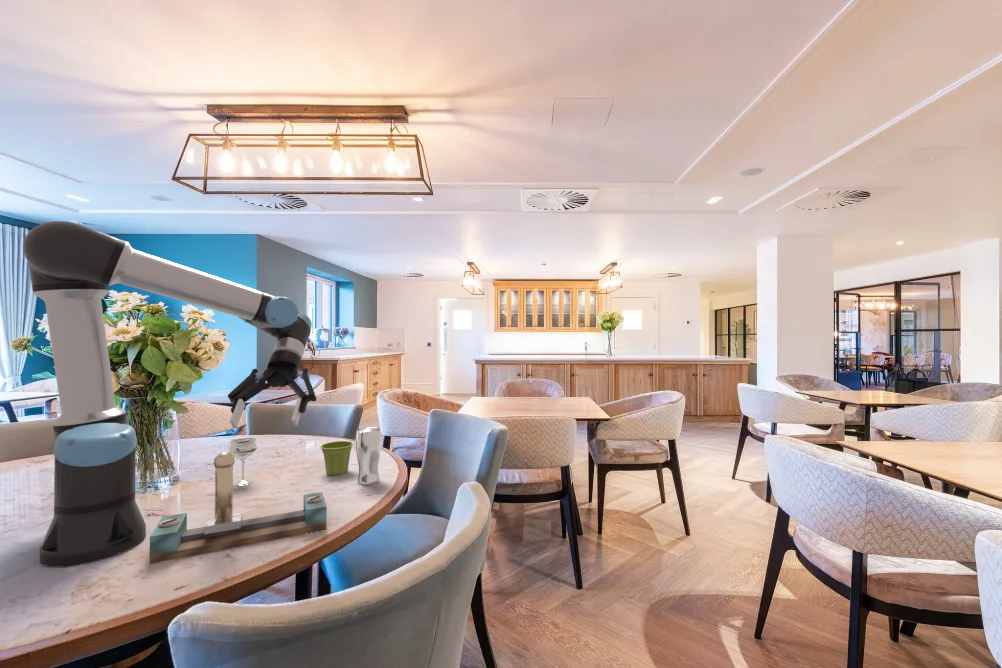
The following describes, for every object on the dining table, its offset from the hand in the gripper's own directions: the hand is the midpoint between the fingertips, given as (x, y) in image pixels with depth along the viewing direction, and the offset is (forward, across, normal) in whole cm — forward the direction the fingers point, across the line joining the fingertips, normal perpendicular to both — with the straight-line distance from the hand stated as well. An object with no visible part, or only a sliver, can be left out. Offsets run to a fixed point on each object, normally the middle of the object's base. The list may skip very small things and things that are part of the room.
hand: (264, 424), depth 101 cm
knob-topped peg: (+23, +2, -3) cm, 23 cm away
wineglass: (-2, +14, -32) cm, 35 cm away
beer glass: (+2, -21, -28) cm, 35 cm away
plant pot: (-6, -10, -35) cm, 37 cm away
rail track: (+24, -1, -6) cm, 24 cm away
